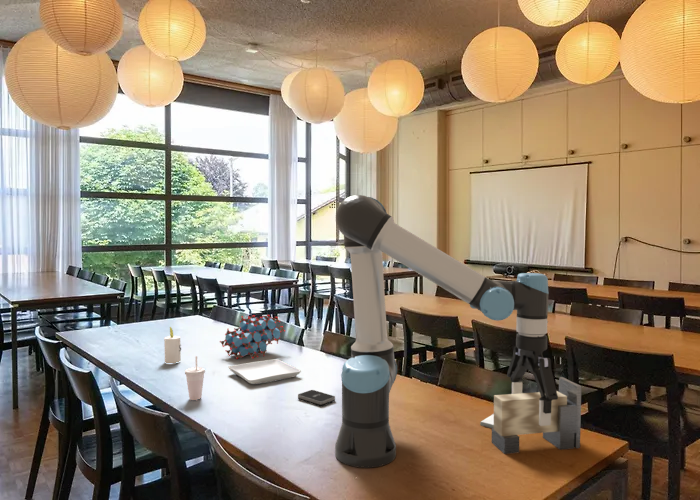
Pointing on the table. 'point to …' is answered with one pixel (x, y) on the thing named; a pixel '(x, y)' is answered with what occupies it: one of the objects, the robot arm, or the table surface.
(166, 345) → the candle
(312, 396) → the external hard drive
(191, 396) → the smoothie
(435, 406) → the table surface
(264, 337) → the molecule model
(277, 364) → the salad plate
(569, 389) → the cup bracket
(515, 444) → the block
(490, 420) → the external hard drive
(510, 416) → the rail
